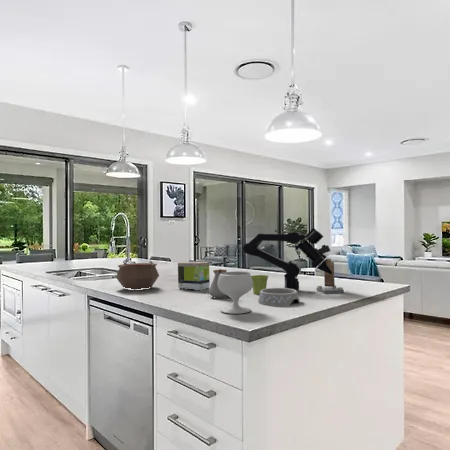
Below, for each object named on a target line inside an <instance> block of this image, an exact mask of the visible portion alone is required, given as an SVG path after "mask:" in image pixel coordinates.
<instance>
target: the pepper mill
mask: <svg viewBox="0 0 450 450" xmlns="http://www.w3.org/2000/svg"><path fill="white" fill-rule="evenodd" d="M326 259H327V260H326V261H327V262H326V265H327V266H328V267H329V269H330V270H331V271H332V274H329V273H327V272H324V271H323V272H324V273H323V276H324V280H323V281H324V287H334V286H335V261H332V259H331V258H326Z"/></svg>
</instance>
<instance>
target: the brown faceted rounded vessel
mask: <svg viewBox="0 0 450 450" xmlns="http://www.w3.org/2000/svg"><path fill="white" fill-rule="evenodd" d="M157 265H158V264H157V263H153V261H152V260H149V262H135V263H133V262H132V263H127V260H126V259H124V260H123V261H122V264H119V265H118V264H117V267H118V268H119V269H118V271H117V273H116V276H115V278H116V280H117V281H118V283H119V285H121V286H122V288H123V287H125V288H131V289H141V288H149V287H151V288H152V287H153V286H154V284H155V283H156V281H157V280H158V278H159V277H160V274H159V272H158V269H157V268H156V267H157Z"/></svg>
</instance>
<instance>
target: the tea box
mask: <svg viewBox="0 0 450 450" xmlns="http://www.w3.org/2000/svg"><path fill="white" fill-rule="evenodd" d="M210 279H211V277H210V262H209V261H183V262H178V263H177V280H178V283H177V285H178V286H177V287H178V288H185V289H184V290H187V289H194V290H193V291H203V290H202V289H204V290H207V289H206V288H209V289H210V287H211V284H210V283H211V282H210V281H211V280H210Z"/></svg>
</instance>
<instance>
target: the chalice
mask: <svg viewBox="0 0 450 450" xmlns="http://www.w3.org/2000/svg"><path fill="white" fill-rule="evenodd" d="M251 276H252V275H251V273H250V272H248V271H226V272H223V273H221V274H220V275H219V278H218V283H217V285H218V288H219V290H220V291H221V292H223V293H224V294H226V295H228V296H229V297H228V298H230V299H232V303H233V304H232V306H226V307H224V308H221V309H219V311H220V312H221V313H224V314H229V315H237V314H240V315H241V314H245V313H250V312H251V311H252V309H251V308H249V307H247V306H240V305H239V300H240V298H242V297H243V296H245V294H248V293H249V292H251V290H253V280H252V277H251Z"/></svg>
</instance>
